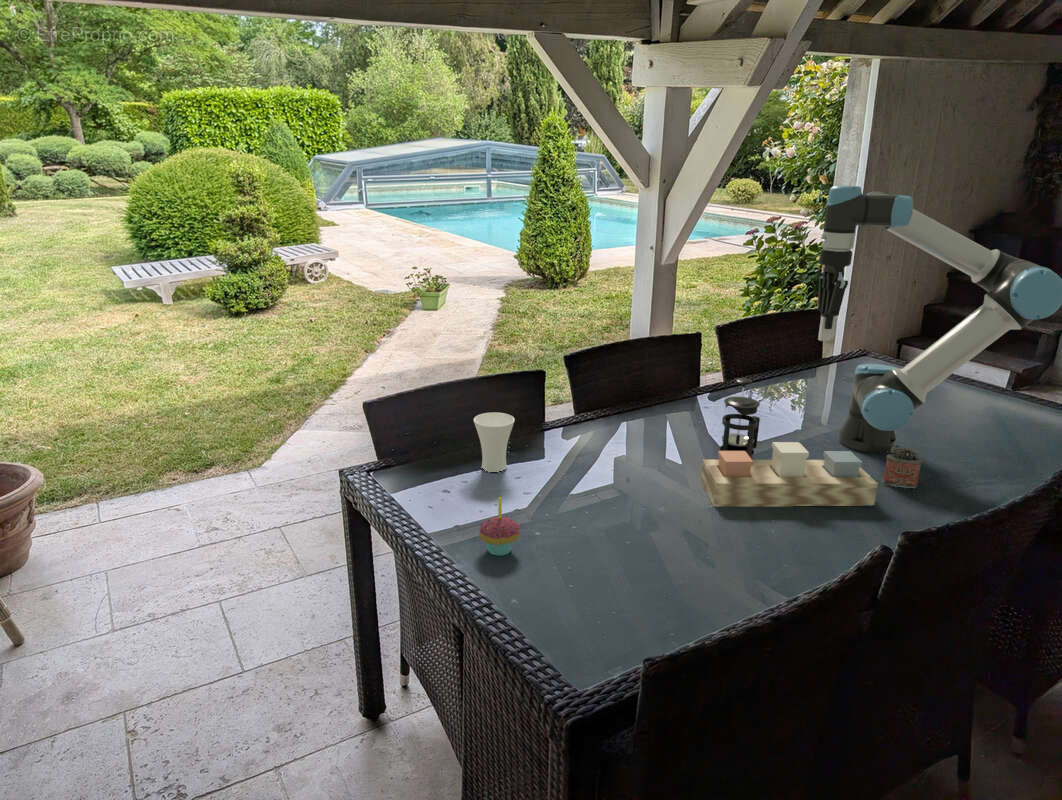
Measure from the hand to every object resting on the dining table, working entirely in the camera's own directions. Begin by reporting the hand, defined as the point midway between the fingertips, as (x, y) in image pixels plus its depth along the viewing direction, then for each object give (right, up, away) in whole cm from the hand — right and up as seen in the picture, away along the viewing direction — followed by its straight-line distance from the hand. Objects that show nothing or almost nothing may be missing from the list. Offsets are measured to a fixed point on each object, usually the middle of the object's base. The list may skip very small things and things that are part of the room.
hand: (824, 340), depth 201 cm
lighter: (+16, -37, -8) cm, 41 cm away
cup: (-86, -34, -1) cm, 93 cm away
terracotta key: (-28, -35, -15) cm, 47 cm away
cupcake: (-83, -47, -41) cm, 104 cm away
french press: (-21, -32, +5) cm, 39 cm away
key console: (-15, -39, -13) cm, 43 cm away
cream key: (-15, -33, -15) cm, 39 cm away
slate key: (-2, -35, -14) cm, 38 cm away
